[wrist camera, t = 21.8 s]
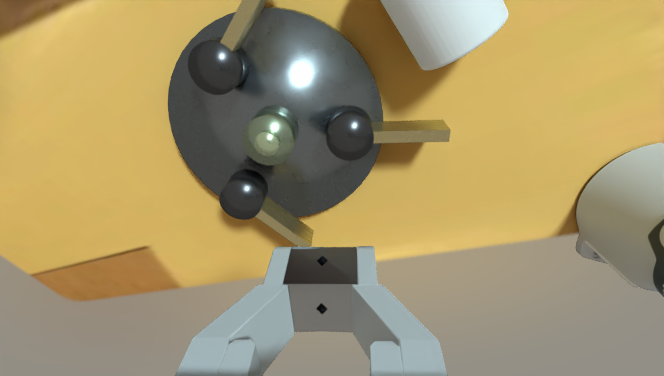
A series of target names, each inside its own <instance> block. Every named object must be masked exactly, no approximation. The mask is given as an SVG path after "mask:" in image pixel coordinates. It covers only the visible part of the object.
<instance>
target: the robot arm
mask: <svg viewBox="0 0 664 376" xmlns="http://www.w3.org/2000/svg"><path fill="white" fill-rule="evenodd" d="M576 219H577V224H578V228H579V236H578V240H577V244H576V251H577V252H578V253H579V254H580V255H581V256H583V257H585V258H589V259H592V260H596V261H599V262H603V263H607V264H609V265H610V266H611V267H612V268H613V269H614V270H615V271H616V272H617V273H618V274H619V275H620V276H621V277H623V278H624V279H625V280H626V281H627V282H628V283H629V284H631V285H632V286H634V287H641V288H643V289H646V290H651V291H658V292H659V293H660V294H661V295H662V296H663V297H664V143H657V144H651V145H647V146H644V147H640V148H637V149H635V150H632V151H630V152H628V153H626V154H624V155H622V156H620V157H618V158H617V159H615V160H613V161H612V162H610V163H609V164H608V165H606V166H605V167H604V168H603V169H601V170H600V171H599V172H598V173H597V174H596V175H595V176H594V177H593V178H592V179H591V180H590V182H589V183H588V184H587V186H586V187H585V189H584V190H583V192H582V194H581V196H580V198H579V201H578V204H577V209H576ZM309 331H310V332H314V331H330V332H353V334H354V336H355V337H356V338H357V340H358V342H359V343H360V345H361V347H362V348H363V350H364V351H365V353H366V355H367V356H368V358H369V359H370V376H448V375H447V371H446V367H445V364H444V360H443V356H442V352H441V348H440V344H439V341H438V340H437V339H436V338H435V337H434V336H433V335H432V334H431V333H430V332H429V331H428V330H427V329H426V328H425V327H424V326H423V325H422V324H421V323H420V322H419V321H418V320H417V319H416V317H415V316H413V314H411V312H410V311H408V309H406V307H404V305H403V304H401V303H400V301H399V300H398V299H397V298H396V297H394V295H393V294H392V293H390V291H389V290H387V288H386V287H385V286H384V285H378V281H377V271H376V260H375V250H374V247H373V246H359V247H357V249H356V247H276V248H275V249H274V250H273V253H272V256H271V260H270V263H269V266H268V269H267V273H266V276H265V279H264V282H263V285H257V286H256V287H255V288H253V289H252V290H251V291H250V292H249V293H247V294H246V295H245V296H244V297H242V298H241V299H240V300H239V301H237V302H236V303H235V304H234V305H232V306H231V307H230V308H229V309H228V310H226V311H225V312H224V313H223V314H221V315H220V316H219V317H218V318H216V319H215V320H214V321H213V322H212V323H210V324H209V325H208V326H207V327H205V328H204V329H203V330H202V331H200V332H199V333H198V334H197V335H196V336H194V337H193V338H192V341H191V343H190V345H189V347H188V349H187V351H186V353H185V356H184V358H183V360H182V362H181V364H180V366H179V369H178V371H177V373H176V375H175V376H263V373H264V372H265V371H266V370H267V368H268V367H269V366H270V364H271V363H272V362H273V361H274V359H275V358H276V357H277V355H278V354H279V353H280V352H281V350H282V349H283V348H284V347H285V345H286V344H287V343H288V341H289V340H290V339H291V337H292V336H293V335H294V334H295V333H294V332H309Z"/></svg>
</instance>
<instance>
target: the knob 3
mask: <svg viewBox="0 0 664 376" xmlns="http://www.w3.org/2000/svg"><path fill="white" fill-rule="evenodd" d="M449 137H450V128H449V127H448V126H447V124H446V123H445V122H444V120H416V121H381V122H371V119H370V117H369V115H368V114H367V113H366V112H365V111H364V110H363V109H361V108H359V107H356V106H344V107H341V108H339V109H338V110H336V111H335V112H334V113H333V114H332V116H331V117H330V120H329V123H328V129H327V135H326V142H327V146H328V148H329V150H330V151H331V152H332V153H333V154H334V155H335V156H336V157H338V158H340V159H342V160H347V161H352V160H357V159H360V158H362V157H364V156H365V155H366V154H367V153H368V152H369V151H370V150H371V148H372V145H373V143H411V142H449Z"/></svg>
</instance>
